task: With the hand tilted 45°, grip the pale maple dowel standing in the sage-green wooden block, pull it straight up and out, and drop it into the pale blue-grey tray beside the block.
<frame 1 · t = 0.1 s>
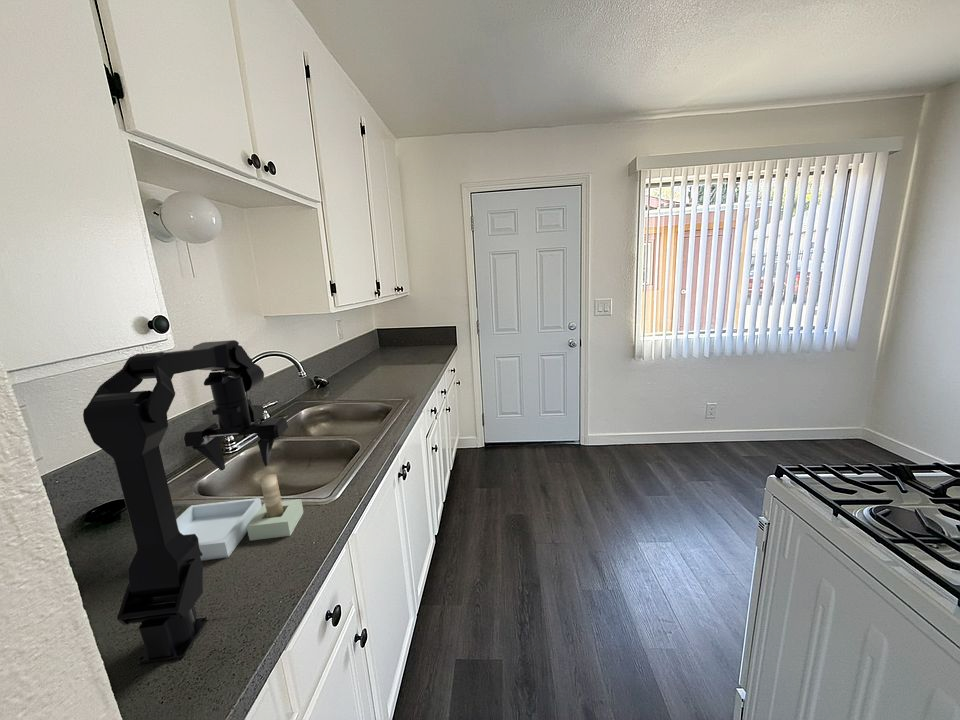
hand: (245, 467, 84), 14 cm above the table, tool pointing down, fingers open, 9 cm apart
dowel block: (278, 525, 86), on the table
dowel: (273, 502, 85), in the dowel block
tray: (210, 536, 84), on the table
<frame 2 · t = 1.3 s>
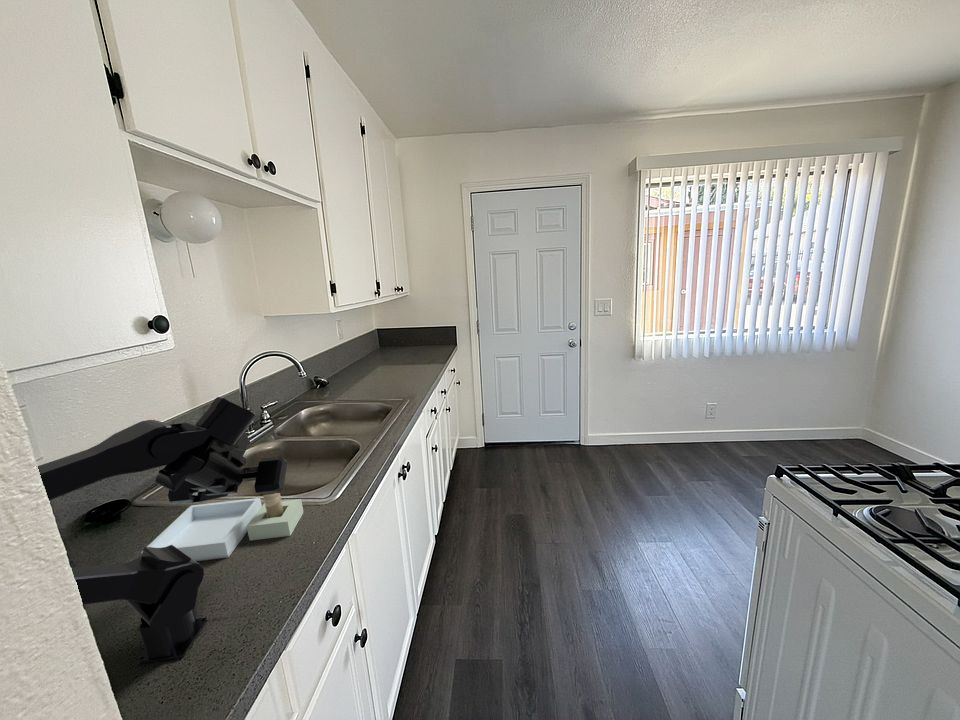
hand: (251, 490, 76), 13 cm above the table, tool tilted 45°, fingers open, 9 cm apart
nothing on the table moved.
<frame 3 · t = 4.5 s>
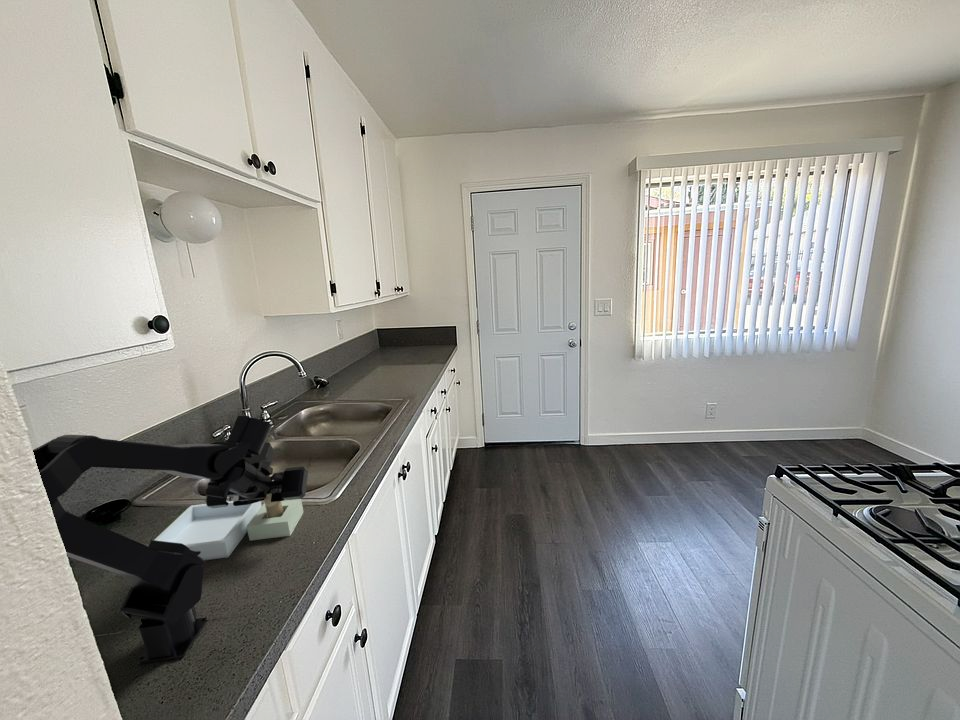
hand: (275, 496, 86), 7 cm above the table, tool tilted 45°, fingers closed on dowel, 3 cm apart
dowel: (273, 502, 85), in the dowel block, touching gripper
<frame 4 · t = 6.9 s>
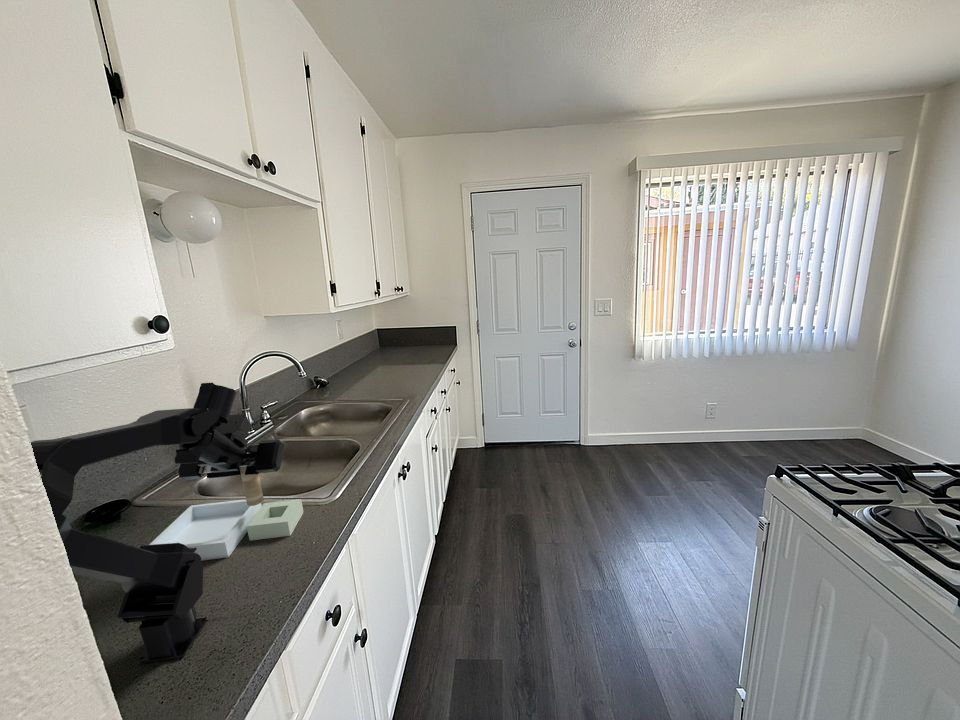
hand: (252, 471, 84), 13 cm above the table, tool tilted 45°, fingers closed on dowel, 3 cm apart
dowel: (250, 476, 83), point 13 cm above the table, touching gripper
when the fingers open (9 cm above the table, at t = 9.4 s): dowel drops 1 cm, resting on tray.
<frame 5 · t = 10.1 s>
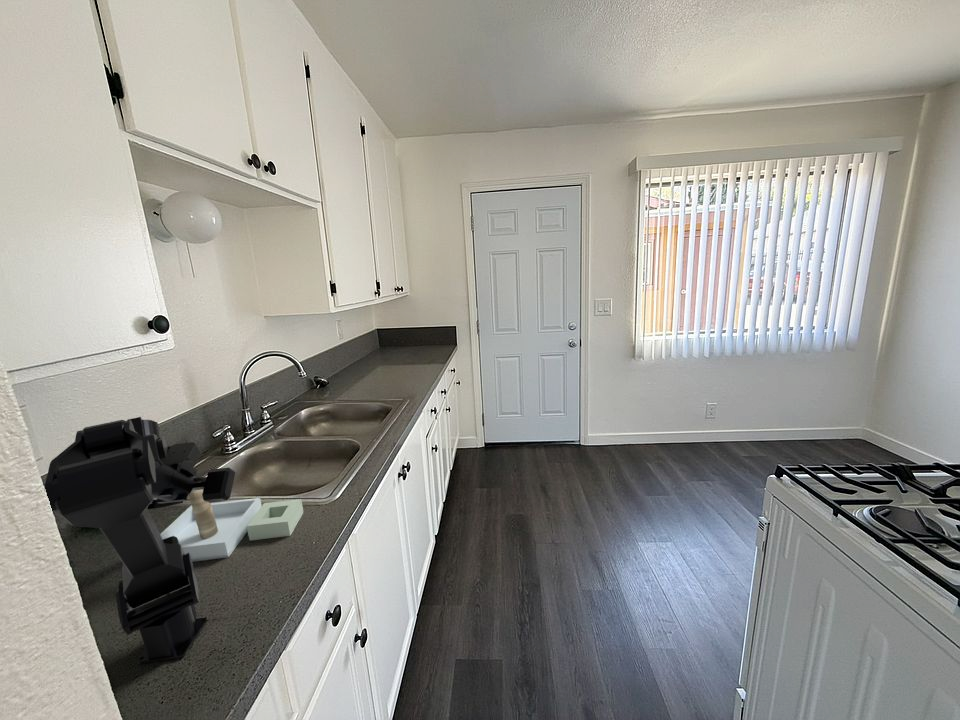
hand: (205, 498, 83), 9 cm above the table, tool tilted 45°, fingers open, 9 cm apart
dowel: (202, 509, 82), in the tray, point 7 cm above the table
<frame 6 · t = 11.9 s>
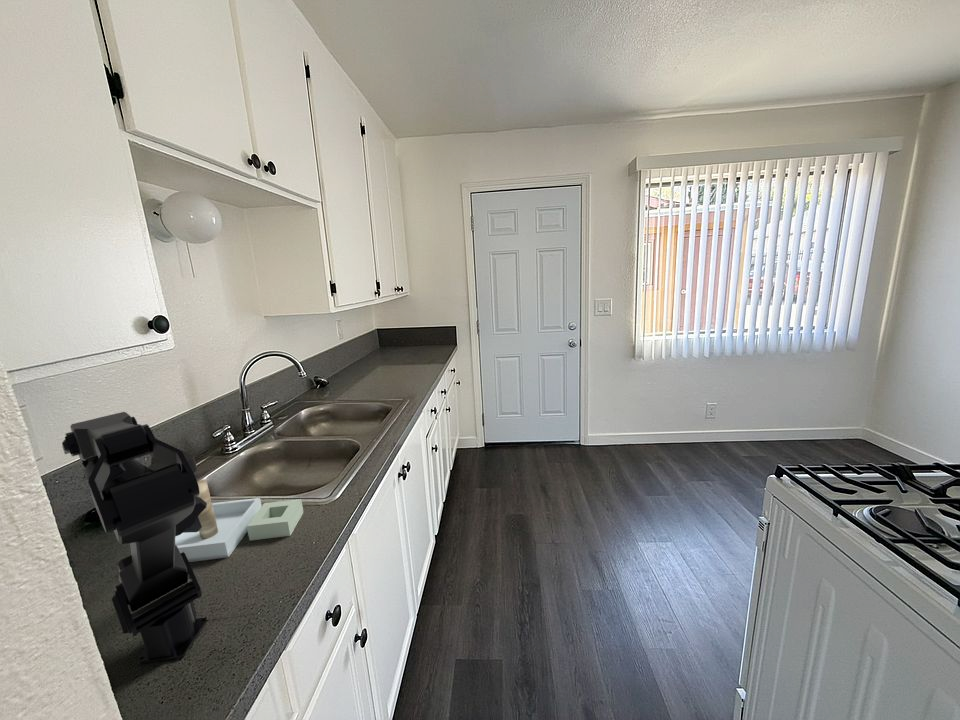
hand: (182, 521, 73), 10 cm above the table, tool tilted 30°, fingers open, 9 cm apart
nothing on the table moved.
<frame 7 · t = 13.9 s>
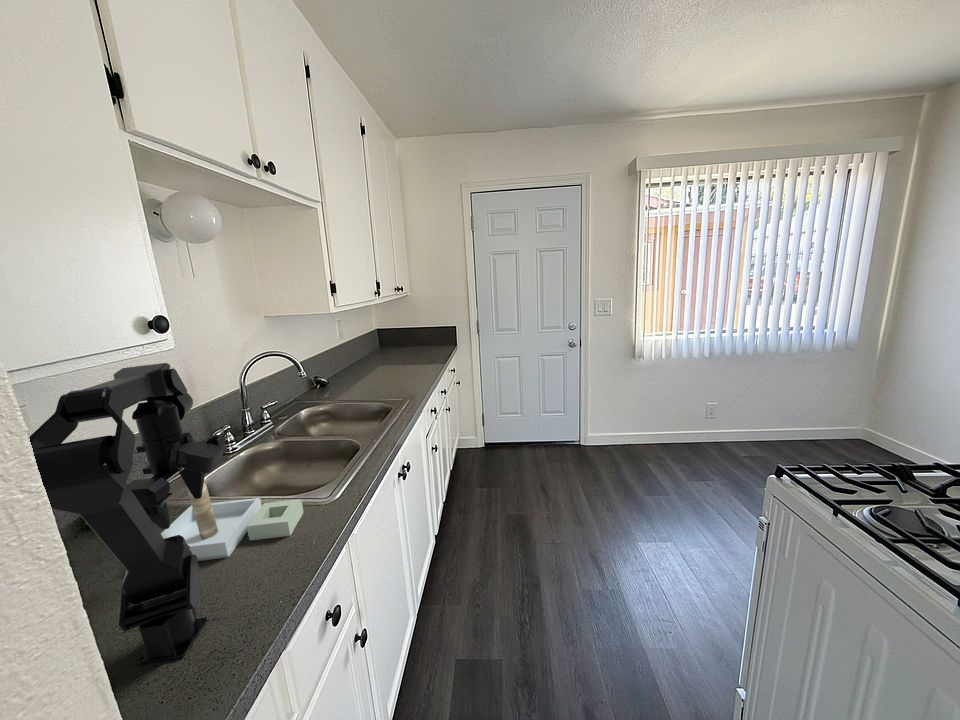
hand: (183, 512, 71), 13 cm above the table, tool pointing down, fingers open, 9 cm apart
nothing on the table moved.
at the end: dowel inside the target area on the tray (0.0 cm from its centre), point 6.6 cm above the tray's base; dowel touching tray; the gripper is holding nothing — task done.
